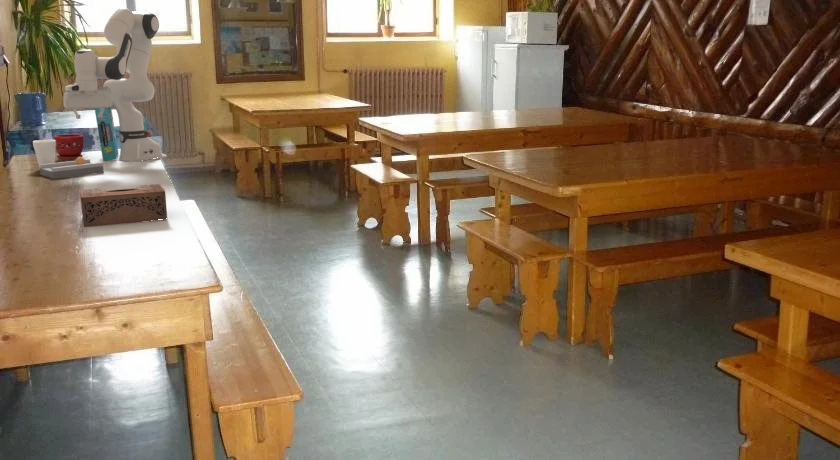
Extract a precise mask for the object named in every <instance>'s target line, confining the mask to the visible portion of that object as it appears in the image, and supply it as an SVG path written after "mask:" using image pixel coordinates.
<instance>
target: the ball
mask: <svg viewBox="0 0 840 460" xmlns="http://www.w3.org/2000/svg"><path fill="white" fill-rule="evenodd" d="M85 160H86V159H85V158H84V157H78V158H77V159H76V160H74V161H75V162H76V164H77V165H83V164H85Z"/></svg>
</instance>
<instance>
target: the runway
mask: <svg viewBox="0 0 840 460" xmlns="http://www.w3.org/2000/svg"><path fill="white" fill-rule="evenodd" d="M75 161H76V160H69V161H60V162H55V163H51V164H42V165H40V168H39V172H40V176H43V177H47V178H49V179H52V180H53V179H54V180H57V179H63V178H64V179H65V178H70V177H71V178H72V177H73V178H74V177H79V176H87V175H95V174H103V173H105V172H104V171H105V170H104V162H103V161H102V162H95V163H92V162H91V159H90V158H89V159H87V158H86V159H85V164H83V165H77V164H76V162H75Z"/></svg>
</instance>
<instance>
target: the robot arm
mask: <svg viewBox="0 0 840 460" xmlns="http://www.w3.org/2000/svg"><path fill="white" fill-rule="evenodd" d="M159 28H160V22H159V19H158V17H157V15H156V14H154V13H151V12H143V11H132V10H130V9H128V8H125V7H120V8H117V10H115V12H113V14H112V15H111V16H110V17H109V19H108V20H107V23H106V24H105V26H104V29H103V33H104V34H103V35H104V37H105V39H106V40H107V41H108V43H110V44H111V45H113V46H114V47H117V50H116V53H115V55H112V56H109V57H108V56H104V57H103V56H98V55H97V54H95V51H94V50H93V49H90V48H84V49H78V50H77V51H75V53H74V60H73V61H74V62H73V63H74V72H75V75H76V76H75V82H74V83H71V84H69V85H65V86H64V90H65V92H64V93H63V101H62V103H63V107H64V108H65V109H67V110H68V109H72V112H73V114H74V115H75V119H76V120H79V119H81V114H78V112H77V111H78V109H95V108H100V110H101V112H100V114H98V118H102V114H103V112H104V108H105V107H111V108H112V106H113V107H114V109H115V110H116V113H117V116H118V123H119V124H118V125H119V131H118V133H119V135H118V137H119V142H120V150H119V151H120V152H119V159H118V160H119V161H123V162H124V161H125V162H143V161H142V160H147V161H149V160H148V159H153V158H157V157H158V158H159V159H165V158H168V156H167V154H165V153H163V152H162V148H161V145H160V144H159V143H158V142H156V141H155V140H153V139H152V138H151V137H149V136H151V135H152V133H153V131H151V130H146V129H145V127H144V117H143V116H144V115H143V113H142V112H141V111H140V110H138V109H136V107H135V106H134V104H133V102H134V103H141V102H142V103H143V102H147V101H151V100H152V99H153V98H154V96H155V94H156V93H155V92H156V90H155V85H154V84H153V83H152V81H151V80H150V79H149V77H148V68H149V62H150V58H151V53H152V48H153V47H152V44H153V43H152V39H153V38H154V37H155V35H156V34H157V33H158V31H159ZM126 73H128V74H129V77H128V78H125V77H124V76H125V75H126ZM98 80H105V82H104V83H103V86H98ZM153 160H154V159H153Z"/></svg>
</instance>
